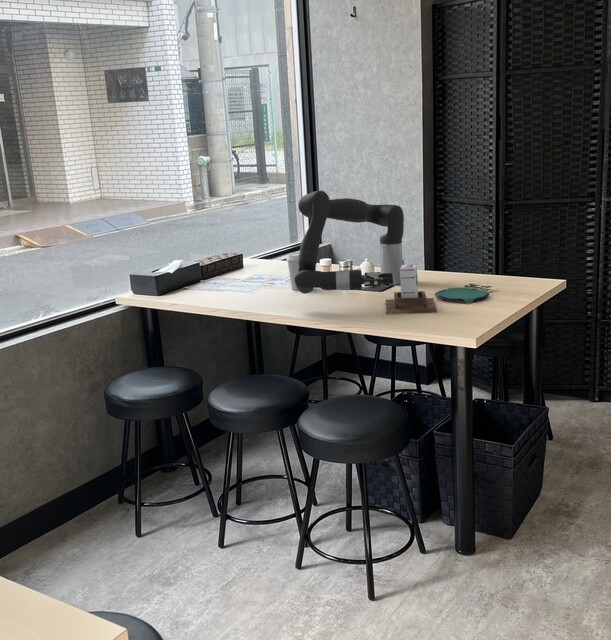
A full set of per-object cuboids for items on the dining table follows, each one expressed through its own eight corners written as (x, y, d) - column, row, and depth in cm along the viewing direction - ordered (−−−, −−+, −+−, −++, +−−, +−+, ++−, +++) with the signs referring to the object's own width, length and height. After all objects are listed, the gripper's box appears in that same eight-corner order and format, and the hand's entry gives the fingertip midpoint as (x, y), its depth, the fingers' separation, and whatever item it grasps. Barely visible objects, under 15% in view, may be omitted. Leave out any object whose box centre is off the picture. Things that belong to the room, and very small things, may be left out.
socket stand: (385, 302, 296) (385, 290, 295) (433, 300, 294) (432, 288, 293) (386, 314, 279) (386, 301, 278) (436, 312, 277) (436, 299, 276)
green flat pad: (425, 300, 297) (425, 294, 296) (466, 286, 318) (466, 281, 318) (471, 306, 284) (471, 300, 283) (510, 292, 305) (510, 286, 305)
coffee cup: (285, 291, 327) (283, 256, 323) (291, 286, 336) (289, 252, 332) (307, 291, 324) (305, 255, 321) (312, 286, 333) (310, 251, 329)
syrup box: (417, 306, 283) (416, 267, 279) (400, 306, 284) (399, 267, 281) (418, 302, 288) (417, 264, 285) (402, 302, 290) (401, 264, 286)
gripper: (347, 273, 278) (393, 272, 277) (348, 266, 292) (392, 264, 290) (348, 294, 280) (393, 292, 278) (349, 285, 294) (392, 284, 292)
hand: (392, 278), depth 284 cm, fingers open, 8 cm apart
